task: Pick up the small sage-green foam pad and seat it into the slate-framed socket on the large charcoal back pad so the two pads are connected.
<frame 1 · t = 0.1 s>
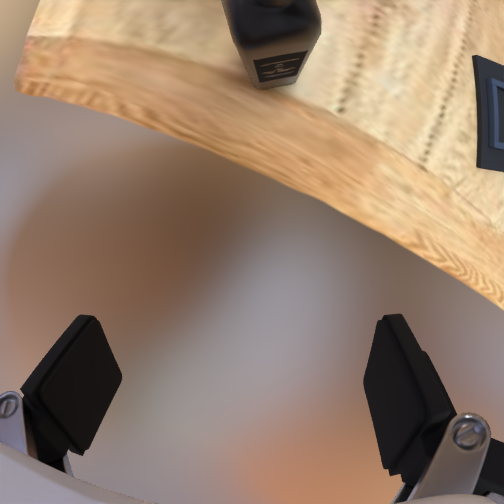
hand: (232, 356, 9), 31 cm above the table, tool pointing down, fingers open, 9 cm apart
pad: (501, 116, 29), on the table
wine bottle: (271, 67, 32), on the table
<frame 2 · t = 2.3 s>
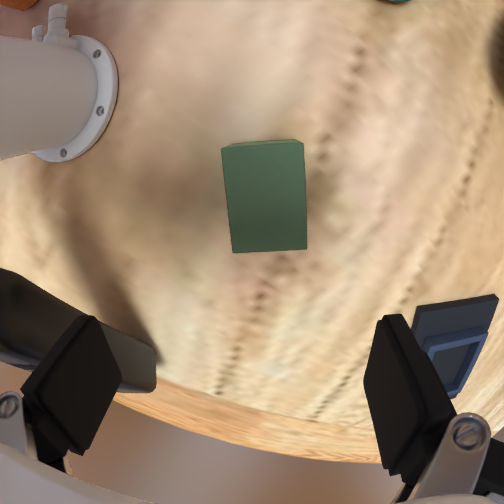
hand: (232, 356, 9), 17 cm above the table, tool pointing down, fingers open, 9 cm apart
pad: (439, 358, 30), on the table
wine bottle: (137, 370, 30), point 2 cm above the table, touching arm
green pad: (267, 184, 23), on the table
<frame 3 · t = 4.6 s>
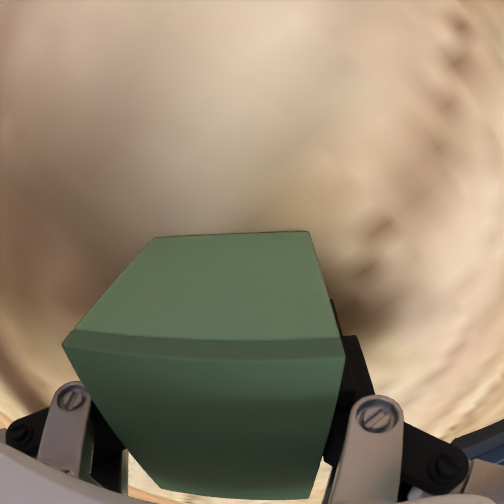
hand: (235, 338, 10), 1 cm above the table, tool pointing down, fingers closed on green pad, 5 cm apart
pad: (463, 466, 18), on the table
green pad: (237, 324, 11), on the table, touching gripper
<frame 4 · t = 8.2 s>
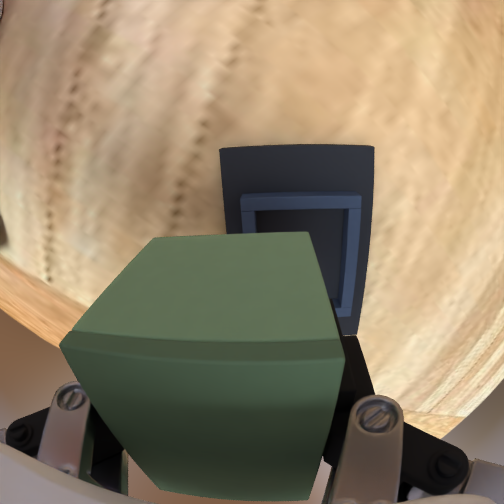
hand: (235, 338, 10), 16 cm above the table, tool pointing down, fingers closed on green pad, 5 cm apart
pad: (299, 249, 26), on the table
green pad: (237, 324, 11), point 15 cm above the table, touching gripper
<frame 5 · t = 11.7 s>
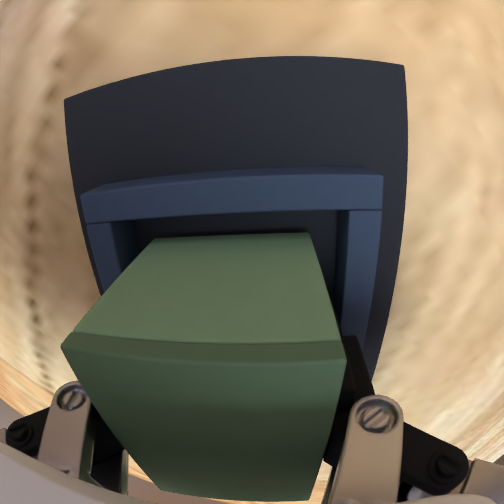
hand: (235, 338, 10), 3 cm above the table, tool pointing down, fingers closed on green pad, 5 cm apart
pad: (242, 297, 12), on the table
green pad: (237, 325, 11), point 2 cm above the table, touching gripper
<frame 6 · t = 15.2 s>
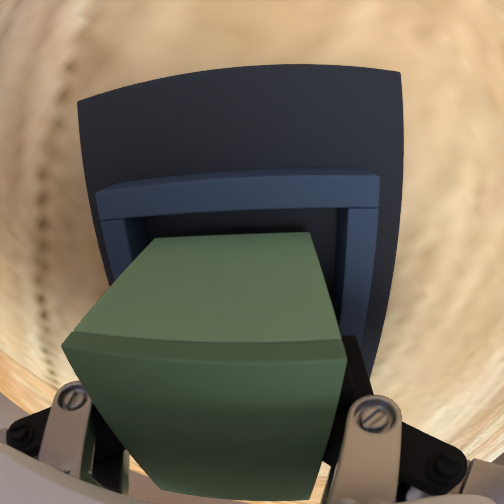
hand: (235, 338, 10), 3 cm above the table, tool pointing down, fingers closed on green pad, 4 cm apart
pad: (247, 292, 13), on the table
green pad: (238, 324, 11), point 2 cm above the table, touching gripper
when the fingers open (4 cm above the table, at t = 18.4 s): green pad drops 2 cm, resting on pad.
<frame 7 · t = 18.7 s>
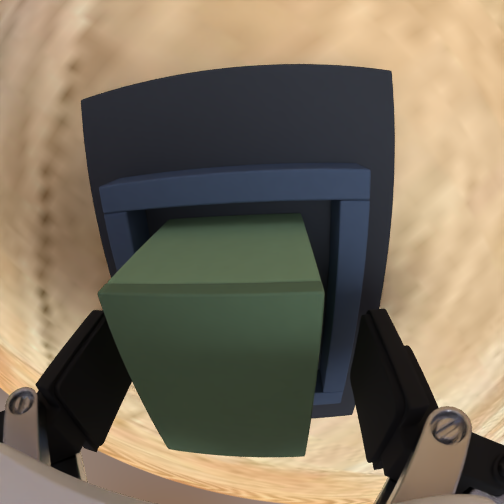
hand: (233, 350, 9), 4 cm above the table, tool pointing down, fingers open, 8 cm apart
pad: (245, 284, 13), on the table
green pad: (240, 296, 12), point 1 cm above the table, touching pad
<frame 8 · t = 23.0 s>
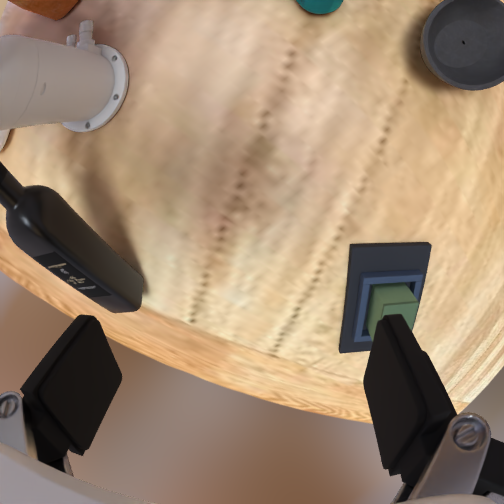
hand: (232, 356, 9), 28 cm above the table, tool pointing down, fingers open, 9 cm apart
bowl: (456, 44, 24), on the table
beverage can: (316, 0, 25), on the table
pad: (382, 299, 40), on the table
earbud case: (4, 113, 32), on the table
wine bottle: (128, 295, 40), point 2 cm above the table, touching arm
green pad: (384, 303, 39), point 1 cm above the table, touching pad
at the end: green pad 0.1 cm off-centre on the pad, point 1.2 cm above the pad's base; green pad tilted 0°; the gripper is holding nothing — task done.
